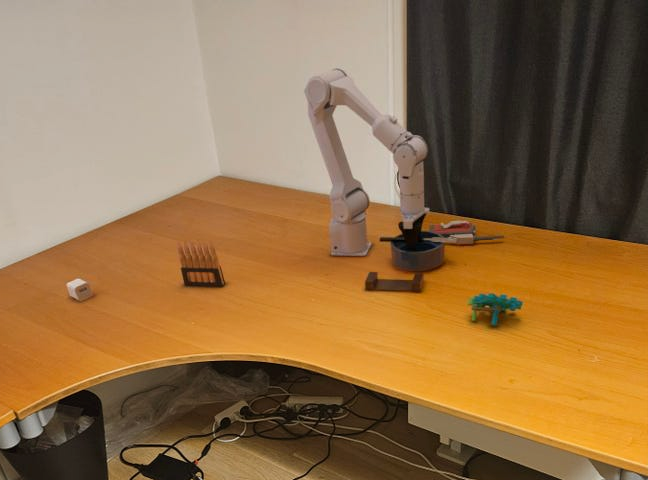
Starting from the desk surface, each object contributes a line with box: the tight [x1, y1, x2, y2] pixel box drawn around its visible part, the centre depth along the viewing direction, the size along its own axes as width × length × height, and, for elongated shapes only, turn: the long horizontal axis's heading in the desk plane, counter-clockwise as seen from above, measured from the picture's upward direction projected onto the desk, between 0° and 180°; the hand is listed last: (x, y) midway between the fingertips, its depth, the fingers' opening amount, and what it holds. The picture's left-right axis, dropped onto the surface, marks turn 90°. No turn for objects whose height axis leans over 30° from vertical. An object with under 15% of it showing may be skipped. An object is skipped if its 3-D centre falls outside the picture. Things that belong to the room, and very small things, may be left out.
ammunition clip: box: [176, 240, 226, 288], centre depth 153 cm, size 11×2×12 cm, turn 75°
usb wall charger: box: [66, 278, 94, 302], centre depth 158 cm, size 4×7×4 cm, turn 47°
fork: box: [379, 236, 457, 245], centre depth 152 cm, size 19×2×1 cm, turn 75°
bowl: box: [390, 230, 446, 272], centre depth 154 cm, size 13×13×6 cm
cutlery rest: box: [364, 271, 425, 293], centre depth 145 cm, size 13×5×2 cm, turn 75°
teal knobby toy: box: [467, 292, 524, 327], centre depth 127 cm, size 11×6×10 cm
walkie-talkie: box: [428, 219, 505, 245], centre depth 162 cm, size 9×4×20 cm
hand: (413, 244), depth 153 cm, fingers open, 5 cm apart
